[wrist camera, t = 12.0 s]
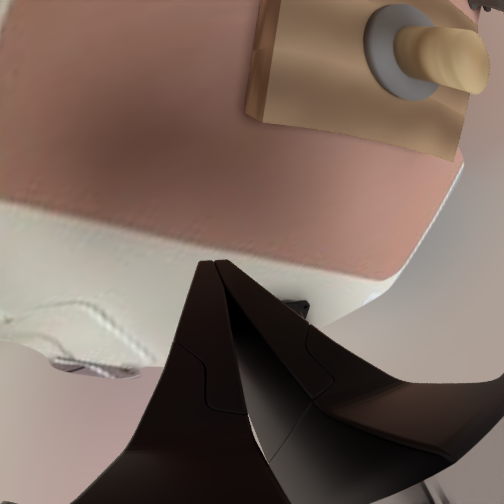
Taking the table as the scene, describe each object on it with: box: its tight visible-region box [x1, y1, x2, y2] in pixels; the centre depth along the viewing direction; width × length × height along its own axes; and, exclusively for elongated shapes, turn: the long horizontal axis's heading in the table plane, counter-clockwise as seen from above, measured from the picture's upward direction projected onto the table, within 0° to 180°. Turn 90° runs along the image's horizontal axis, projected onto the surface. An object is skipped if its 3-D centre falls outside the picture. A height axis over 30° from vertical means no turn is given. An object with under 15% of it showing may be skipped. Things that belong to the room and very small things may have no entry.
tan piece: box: [363, 4, 490, 101], centre depth 13 cm, size 7×7×10 cm
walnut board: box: [244, 0, 478, 162], centre depth 16 cm, size 14×18×4 cm
